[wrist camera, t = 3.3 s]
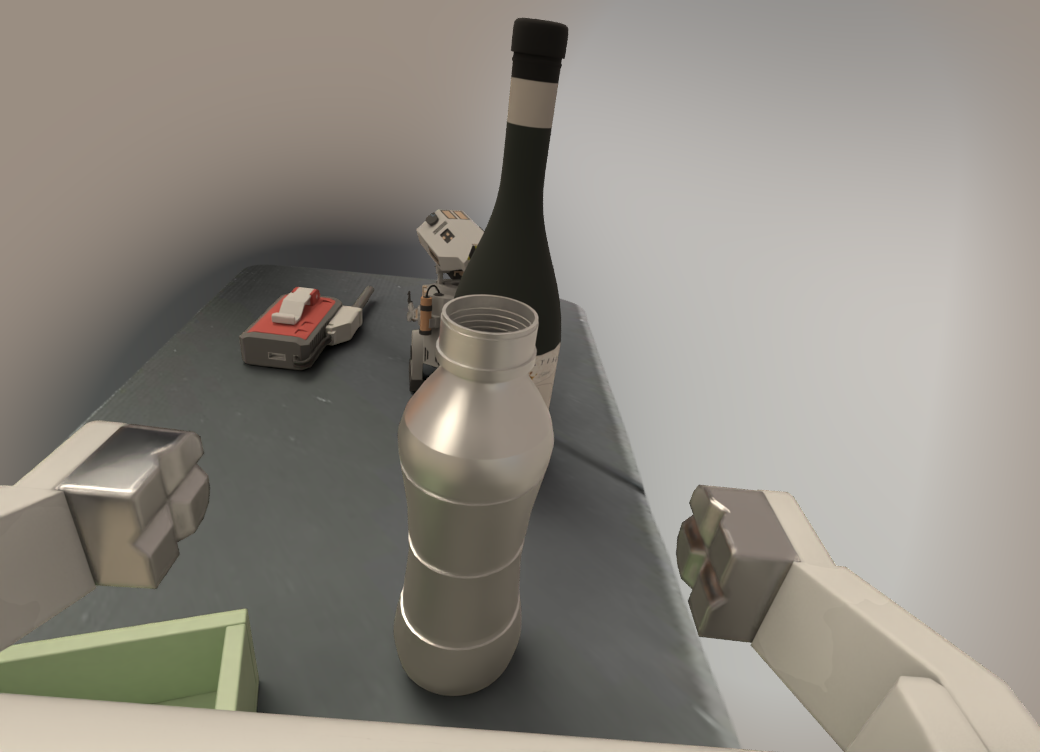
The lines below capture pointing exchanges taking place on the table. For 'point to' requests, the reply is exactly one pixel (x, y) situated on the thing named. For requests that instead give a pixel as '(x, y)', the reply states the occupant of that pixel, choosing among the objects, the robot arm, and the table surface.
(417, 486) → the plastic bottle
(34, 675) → the bin
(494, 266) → the wine bottle
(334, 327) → the walkie-talkie
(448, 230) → the figurine
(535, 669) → the table surface
